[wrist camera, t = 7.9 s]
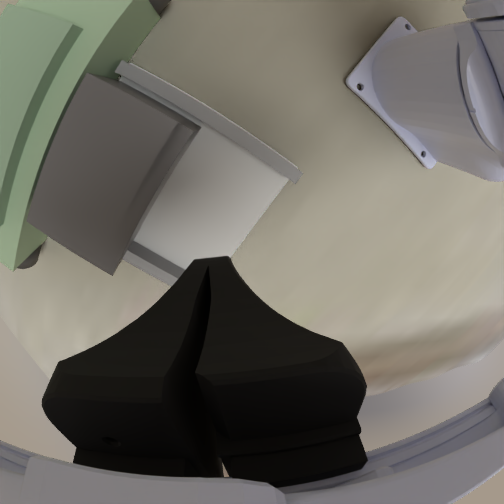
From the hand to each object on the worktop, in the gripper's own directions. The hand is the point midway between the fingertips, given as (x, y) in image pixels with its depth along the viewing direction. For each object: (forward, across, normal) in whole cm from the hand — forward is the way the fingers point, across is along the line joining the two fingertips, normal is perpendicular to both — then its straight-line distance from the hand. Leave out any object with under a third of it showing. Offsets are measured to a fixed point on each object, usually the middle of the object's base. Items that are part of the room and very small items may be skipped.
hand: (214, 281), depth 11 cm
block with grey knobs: (+9, +6, -5) cm, 12 cm away
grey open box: (+9, +5, -4) cm, 11 cm away
